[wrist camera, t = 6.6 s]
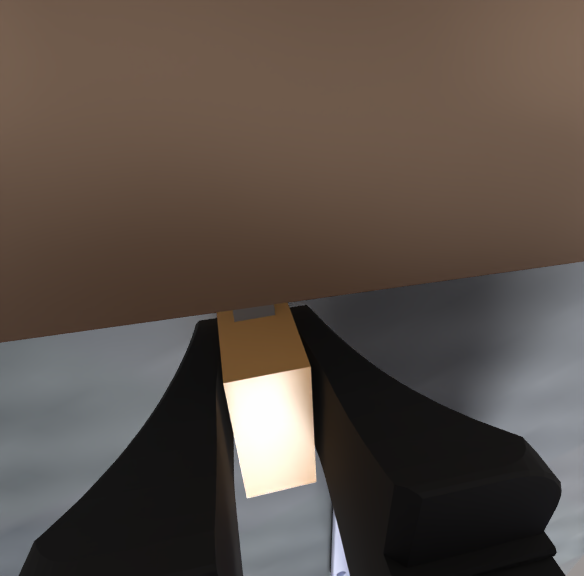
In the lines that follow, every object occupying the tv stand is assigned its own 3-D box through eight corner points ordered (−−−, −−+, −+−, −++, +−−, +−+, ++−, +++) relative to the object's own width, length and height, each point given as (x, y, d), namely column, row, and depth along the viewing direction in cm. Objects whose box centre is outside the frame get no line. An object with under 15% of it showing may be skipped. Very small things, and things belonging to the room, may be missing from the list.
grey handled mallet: (280, 356, 15) (316, 482, 11) (231, 365, 14) (246, 498, 10) (219, -266, 7) (260, -696, 3) (112, -269, 7) (-10, -744, 3)
